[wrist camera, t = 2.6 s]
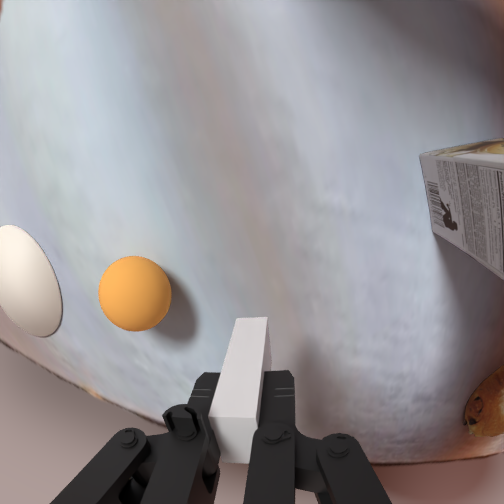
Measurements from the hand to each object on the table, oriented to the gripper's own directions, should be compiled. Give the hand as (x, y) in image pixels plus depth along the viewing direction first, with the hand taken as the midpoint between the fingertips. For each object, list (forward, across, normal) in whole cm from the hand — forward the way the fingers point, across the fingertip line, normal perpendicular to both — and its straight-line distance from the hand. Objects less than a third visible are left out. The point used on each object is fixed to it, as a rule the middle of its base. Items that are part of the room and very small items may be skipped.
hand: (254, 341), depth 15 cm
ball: (+6, -9, 0) cm, 11 cm away
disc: (+9, -26, 0) cm, 28 cm away
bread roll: (+9, +26, -18) cm, 33 cm away
